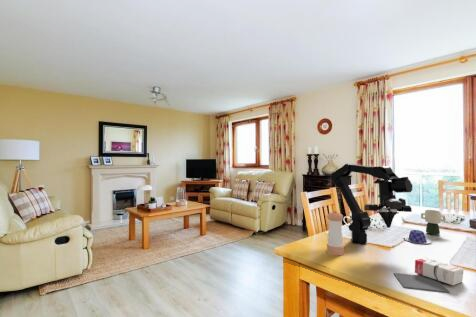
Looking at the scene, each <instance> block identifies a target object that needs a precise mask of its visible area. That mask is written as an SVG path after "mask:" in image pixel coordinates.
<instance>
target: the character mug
mask: <svg viewBox="0 0 476 317" xmlns="http://www.w3.org/2000/svg"><path fill="white" fill-rule="evenodd" d="M441 213H442V212H441V211H439V210H435V209H425V210H424V212H421V213H420V218H421V219H422V220H425V222H426V223H427V224H426V228H425V232H426V233H427V234H430V235H440V232H441V231H440V226H439V224H440V223H441V222H445V221H446V215H442V214H441ZM441 218H442V219H441Z"/></svg>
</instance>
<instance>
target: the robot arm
mask: <svg viewBox="0 0 476 317" xmlns="http://www.w3.org/2000/svg"><path fill="white" fill-rule="evenodd" d="M352 173H358V174H364V175H365V174H367V175H369V176H371V177H373V178H376V179H375V180H374V181H373V184H377V185H378V195H377V198H379V204H370V203H369V204H365V205H364V206H363V208H364V209H363V210H364V211H363V210H362V209H361V206H360V205H359V203H358V201H357V200H356V197H355V195H354V193H353V191H352V190H351V188H350V186H349V179H348V177H349V176H350V175H351V174H352ZM330 180H331V181H332V183H333V185H335V187H337V188H338V189H339V191H340V192H341V195H342V197H343V199H344V201H345V203H346V205H347V206H348V208H349V210H350V212H351V222H352V223H351V222H350V224H349V225H348V226H347V227H348V230H349V231H350V232H351V234H350V235H351V238H350V240H351V242H352V244H359V245H368V244H367V242H368V234H367V231H368V229H369V227H370V226H371V223H372V218H371V217H370V216H369V212H368V211H370V212H371V211H372V212H373V211H375V212H376V213H378V214H379V216H380V217H381V218H382V220H383V222H384V224H385V226H386V227H387V228H389V229H390V228H391V227H392V226H391V225H392V223H393V220H394V218H395V216H396V215H397V214H399V213H400V212H403V213H404V212H405V213H407V212H410V213H411V212H412V211H413V210H412V207H411V206H410V205H407V201H406V199H405V198H402V197H399V198H396V194H394V193H399V194H401V193H403V194H404V193H405V194H406V193H411V192H412V191H413V184H412V182H411V180H410V179H409V176H402V177H399V176H398V175H397V174H396V173H395V172H394V171H393V169H392V167H391V166H388V165H386V166H368V165H362V164H354V163H345V164H344V165H343V166H341V167H340V168H338V169H336V171H333V172H332V173H331V174H330Z"/></svg>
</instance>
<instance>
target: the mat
mask: <svg viewBox="0 0 476 317" xmlns="http://www.w3.org/2000/svg"><path fill="white" fill-rule="evenodd" d="M393 274H394V276H395V277H396V279H397V280H398V282H399V283H400V285H401V286H402V287H403V288H404V289H412V290H413V289H414V290H421V291H431V292H437V291H439V292H438V293H447V294H448V293H449V294H450V290H448V289H447V287H445V286H444V285H443V284H442V282H441V281H438V280H435V279H432V278H429V277H426V276H423V275H420V274H408V273H400V272H393Z"/></svg>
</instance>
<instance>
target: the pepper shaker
mask: <svg viewBox="0 0 476 317" xmlns="http://www.w3.org/2000/svg"><path fill="white" fill-rule="evenodd" d="M326 218H327V219H328V233H327V244H326V252H327V254H329V255H332V256H343V255H344V254H345V250H344V249H345V247H344V243H343V242H344V237H343V236H344V235H343V232H342V221H343V220H344V215H343V214H342V213H340V212H337V210H333V211H331V212H329V213H328V214H327V216H326Z"/></svg>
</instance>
